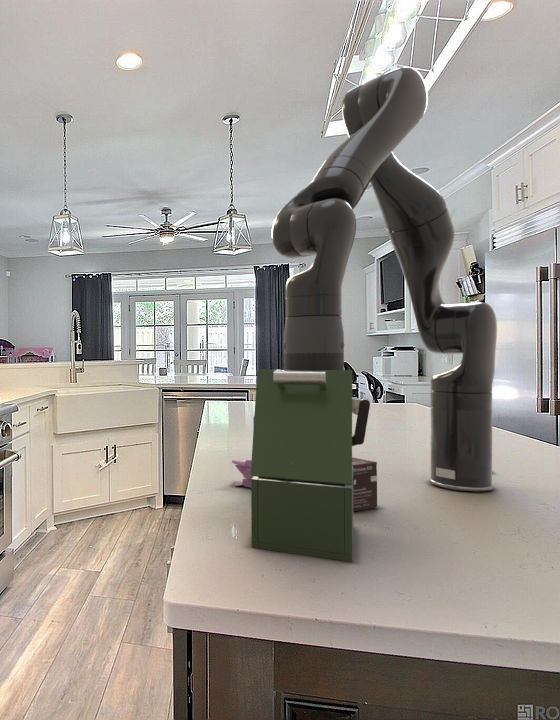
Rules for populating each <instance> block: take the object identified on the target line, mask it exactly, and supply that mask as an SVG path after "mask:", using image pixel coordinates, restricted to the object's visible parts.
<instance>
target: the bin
mask: <svg viewBox="0 0 560 720" xmlns="http://www.w3.org/2000/svg"><path fill="white" fill-rule="evenodd" d="M250 500H251V501H250V504H251V505H250V507H251V508H250V512H251V516H250V517H251V518H250V519H251V520H250V522H251V530H250V531H251V548H254V549H262V550H267V551H275V552H281V553H282V552H283V553H287V554H288V553H289V554H293V555H294V554H295V555H302V556H308V557H315V558H322V559H329V560H335V561H342V562H349V563H352V562H353V554H354V553H353V551H354V550H353V548H354V511H353V466H352V485H343V484H332V483H321V482H310V481H299V480H288V479H277V478H266V477H255V476H254V477H253V478H252V479H251V488H250Z"/></svg>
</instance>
